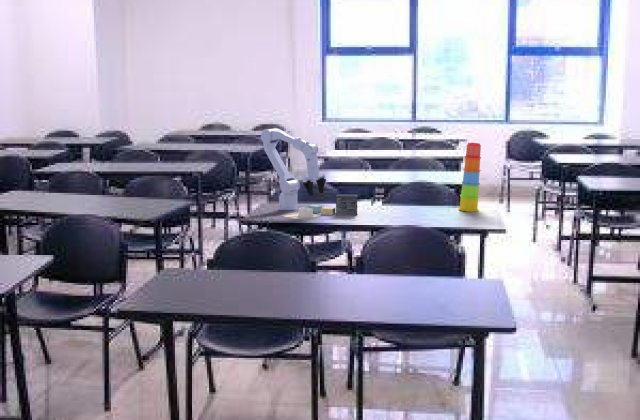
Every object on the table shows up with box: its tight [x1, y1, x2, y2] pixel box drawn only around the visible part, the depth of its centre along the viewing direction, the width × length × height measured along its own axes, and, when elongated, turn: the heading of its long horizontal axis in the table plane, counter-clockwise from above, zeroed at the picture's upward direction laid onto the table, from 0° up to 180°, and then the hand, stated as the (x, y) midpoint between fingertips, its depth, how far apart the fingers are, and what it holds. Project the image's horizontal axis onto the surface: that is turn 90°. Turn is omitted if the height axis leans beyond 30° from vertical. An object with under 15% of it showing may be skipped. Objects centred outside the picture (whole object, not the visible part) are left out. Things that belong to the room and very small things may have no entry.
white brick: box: [297, 206, 314, 218], centre depth 359 cm, size 6×4×4 cm, turn 46°
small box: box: [335, 193, 358, 217], centre depth 364 cm, size 11×6×10 cm, turn 84°
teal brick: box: [307, 204, 323, 214], centre depth 371 cm, size 6×4×4 cm, turn 47°
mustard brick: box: [320, 206, 336, 216], centre depth 365 cm, size 6×4×4 cm, turn 67°
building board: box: [280, 211, 323, 221], centre depth 362 cm, size 16×14×1 cm
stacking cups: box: [458, 142, 482, 213], centre depth 374 cm, size 10×10×35 cm
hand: (316, 194), depth 369 cm, fingers open, 7 cm apart
